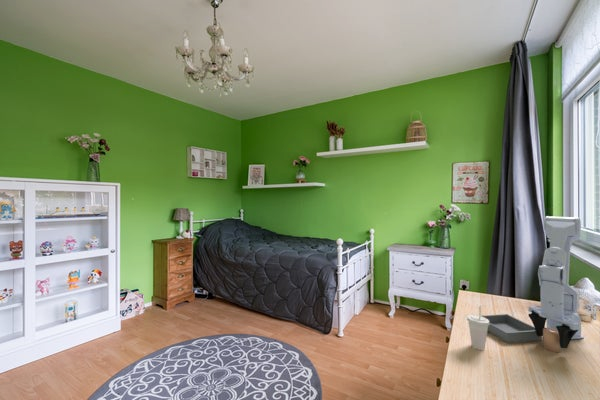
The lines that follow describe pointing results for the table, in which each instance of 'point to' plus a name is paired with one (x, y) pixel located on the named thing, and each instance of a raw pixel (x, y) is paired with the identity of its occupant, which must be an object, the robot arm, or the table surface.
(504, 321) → the tub
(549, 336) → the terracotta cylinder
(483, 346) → the smoothie
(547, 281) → the robot arm
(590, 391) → the table surface
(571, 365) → the table surface
